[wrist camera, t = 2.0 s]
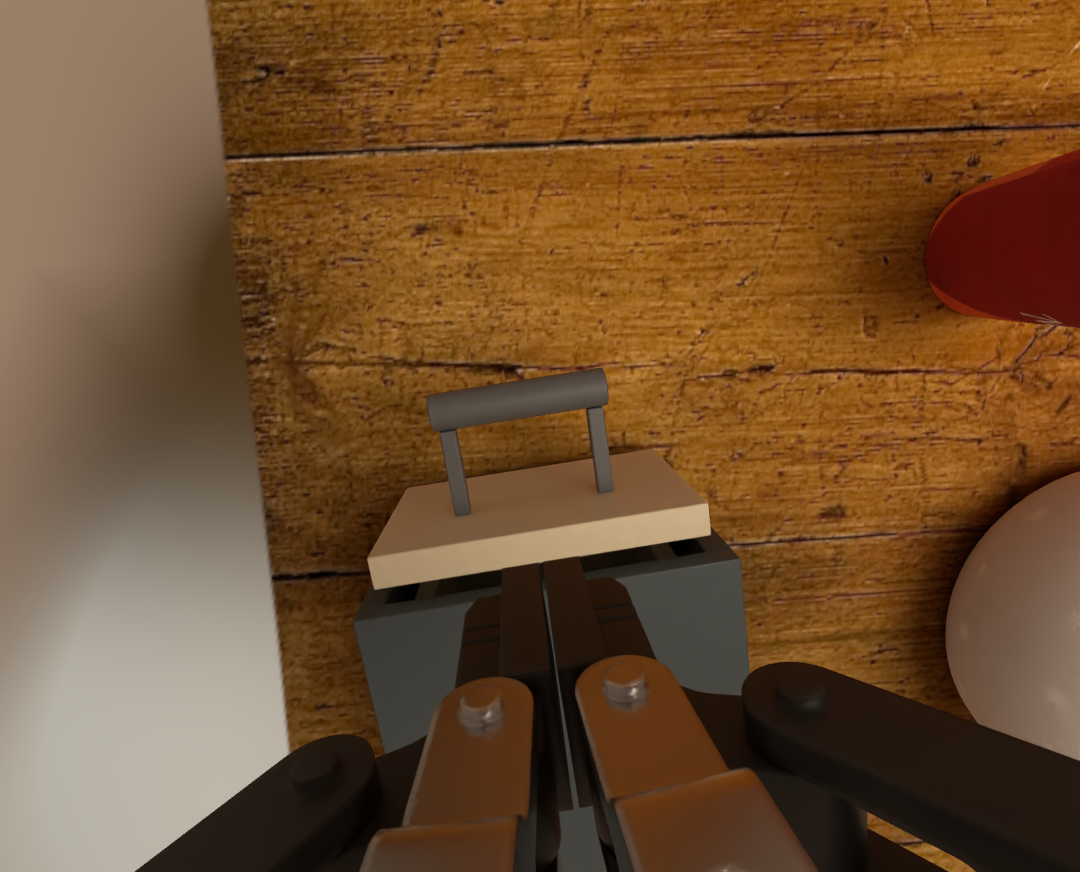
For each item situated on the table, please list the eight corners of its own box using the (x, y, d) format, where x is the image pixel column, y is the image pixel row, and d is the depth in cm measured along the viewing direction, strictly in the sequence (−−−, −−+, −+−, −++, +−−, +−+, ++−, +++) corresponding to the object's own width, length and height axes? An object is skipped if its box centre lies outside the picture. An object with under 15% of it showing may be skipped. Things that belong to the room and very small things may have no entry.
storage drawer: (385, 388, 26) (334, 421, 19) (641, 347, 27) (695, 364, 19) (458, 738, 30) (441, 885, 23) (681, 701, 30) (739, 833, 23)
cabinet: (404, 517, 29) (351, 621, 19) (663, 475, 29) (740, 558, 19) (458, 773, 32) (437, 973, 22) (692, 734, 32) (770, 915, 22)
